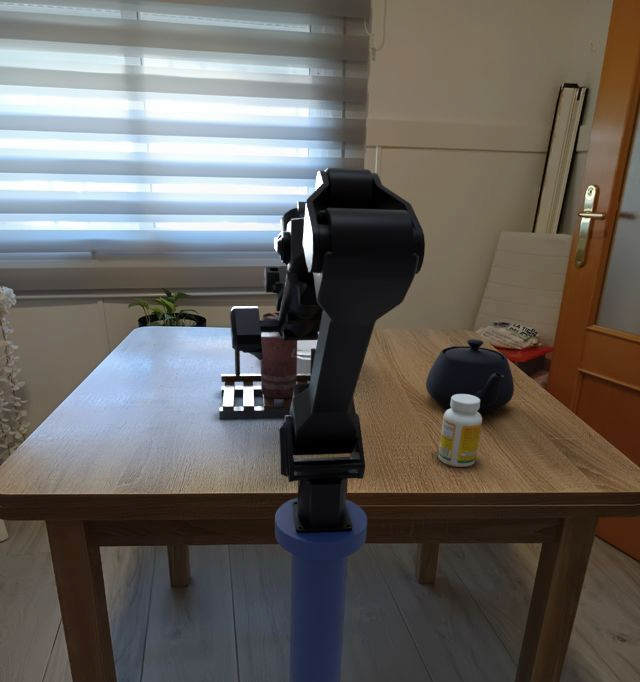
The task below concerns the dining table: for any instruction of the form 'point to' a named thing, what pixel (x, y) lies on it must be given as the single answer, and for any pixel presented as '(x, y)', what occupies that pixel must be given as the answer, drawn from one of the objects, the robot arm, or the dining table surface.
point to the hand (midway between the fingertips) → (289, 356)
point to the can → (278, 365)
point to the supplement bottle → (460, 431)
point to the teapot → (471, 376)
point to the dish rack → (253, 395)
